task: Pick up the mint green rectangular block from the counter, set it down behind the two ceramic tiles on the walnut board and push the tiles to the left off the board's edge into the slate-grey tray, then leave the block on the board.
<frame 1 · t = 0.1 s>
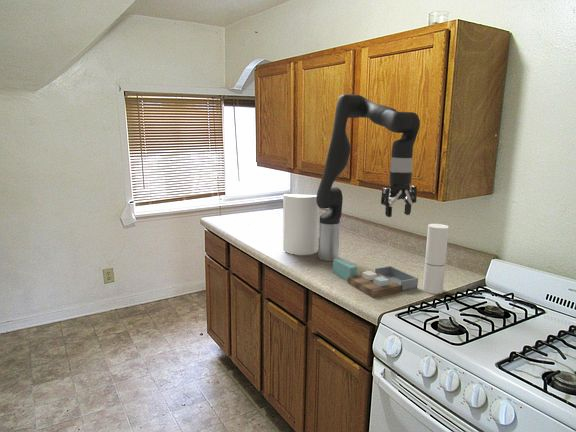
hand: (397, 215, 149), 29 cm above the counter, fingers open, 8 cm apart
board: (373, 287, 159), on the counter
white tile: (369, 277, 162), point 2 cm above the counter, touching board
mint green rectangular block: (344, 276, 170), on the counter
tray: (395, 282, 164), on the counter
cylinder: (300, 250, 207), on the counter
blue tile: (380, 283, 156), point 2 cm above the counter, touching board
cylindrical container: (432, 290, 157), on the counter
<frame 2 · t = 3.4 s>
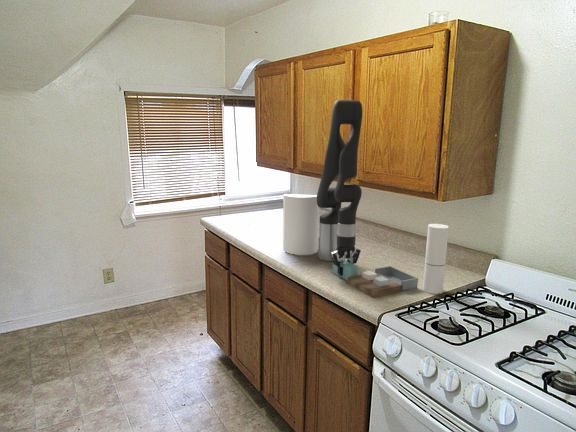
hand: (344, 274, 170), 1 cm above the counter, fingers closed on mint green rectangular block, 3 cm apart
mint green rectangular block: (344, 276, 170), on the counter, touching gripper
everything else where it was.
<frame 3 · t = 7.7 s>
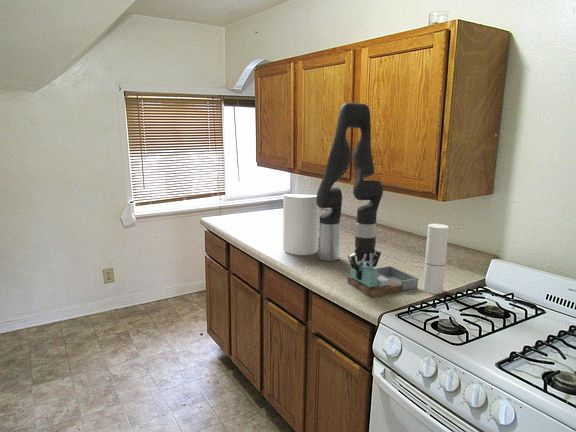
hand: (363, 278, 156), 4 cm above the counter, fingers closed on mint green rectangular block, 3 cm apart
mint green rectangular block: (363, 281, 156), point 3 cm above the counter, touching gripper
everything else where it was.
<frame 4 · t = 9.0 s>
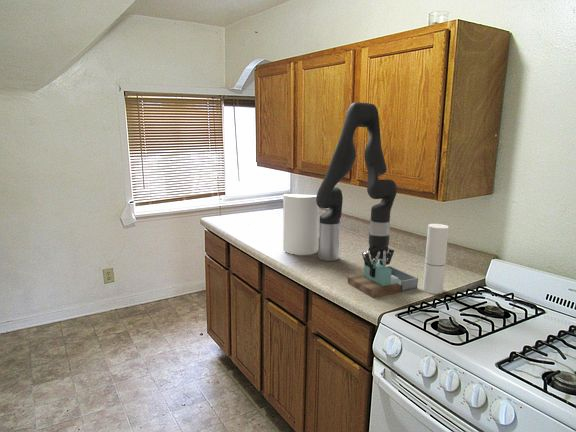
hand: (376, 275, 159), 4 cm above the counter, fingers closed on mint green rectangular block, 3 cm apart
white tile: (378, 276, 164), point 3 cm above the counter, touching board, mint green rectangular block
mint green rectangular block: (376, 280, 159), point 3 cm above the counter, touching gripper, white tile
blue tile: (390, 282, 158), point 2 cm above the counter, touching board
everything else where it was.
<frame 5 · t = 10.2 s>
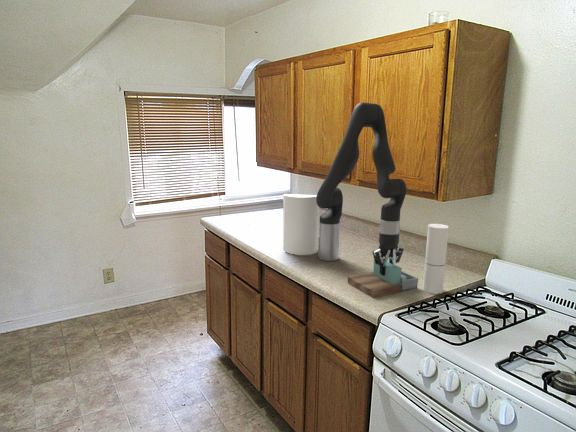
hand: (386, 274, 161), 4 cm above the counter, fingers closed on mint green rectangular block, 3 cm apart
white tile: (386, 274, 166), point 2 cm above the counter, tilted 90°, touching tray
mint green rectangular block: (386, 278, 161), point 3 cm above the counter, touching board, gripper
blue tile: (398, 280, 159), point 2 cm above the counter, tilted 90°, touching tray
everything else where it was.
when the fingers open (4 cm above the counter, at t = 12.2 s): mint green rectangular block stays where it is, resting on board.
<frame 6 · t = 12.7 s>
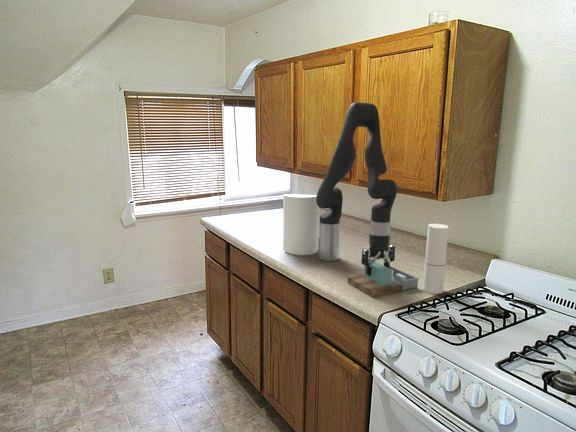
hand: (377, 273, 159), 5 cm above the counter, fingers open, 8 cm apart
mint green rectangular block: (377, 280, 159), point 2 cm above the counter, touching board
everything else where it was.
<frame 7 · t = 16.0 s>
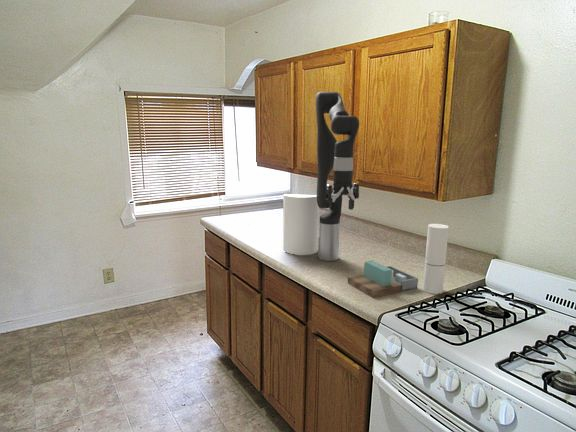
hand: (341, 210, 163), 28 cm above the counter, fingers open, 8 cm apart
nothing on the counter moved.
at the end: white tile inside the target area on the tray (4.1 cm from its centre), point 2.5 cm above the tray's base; blue tile inside the target area on the tray (4.3 cm from its centre), point 2.5 cm above the tray's base; the gripper is holding nothing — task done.
